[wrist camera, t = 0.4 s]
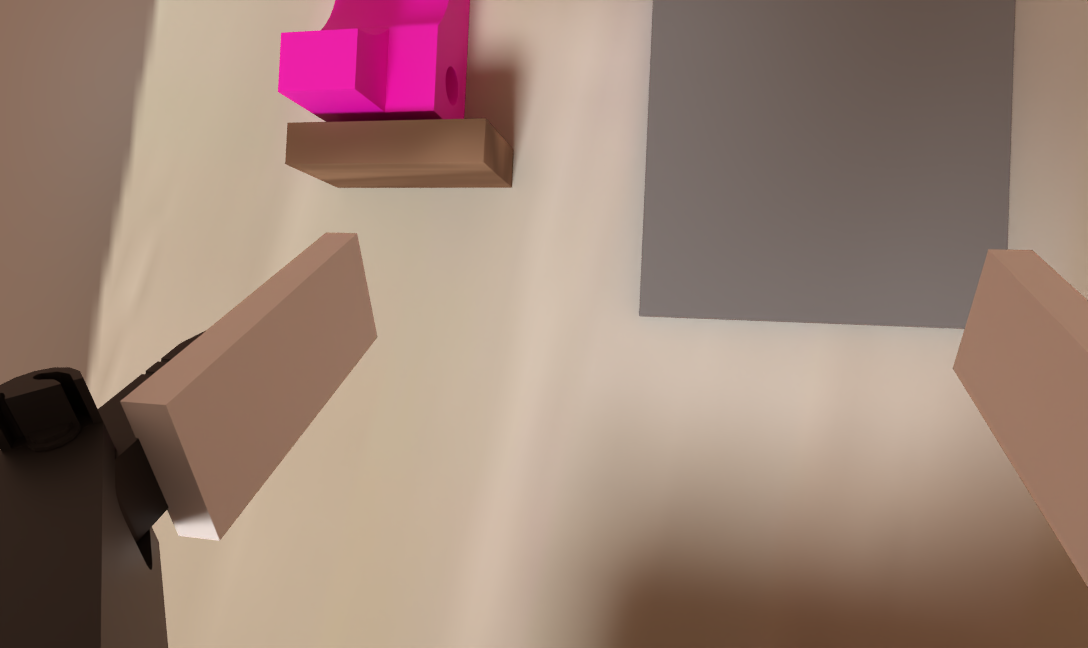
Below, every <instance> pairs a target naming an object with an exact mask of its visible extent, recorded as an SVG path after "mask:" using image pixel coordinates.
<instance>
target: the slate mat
mask: <svg viewBox="0 0 1088 648" xmlns="http://www.w3.org/2000/svg"><path fill="white" fill-rule="evenodd" d="M1014 30H1015V0H653V14H652V36H651V59H650V82H649V104H648V127H647V150H646V172H645V195H644V218H643V240H642V263H641V286H640V308H639V316H648V317H674V318H700V319H725V320H751V321H777V322H803V323H828V324H854V325H880V326H905V327H931V328H957V329H965V326H966V323H967V319H968V316H969V313H970V309H971V306H972V303H973V299H974V296H975V293H976V289H977V286H978V282H979V279H980V276H981V272H982V269H983V266H984V262H985V259H986V256H987V252H988V249H999V250H1007V249H1008V217H1009V186H1010V155H1011V124H1012V93H1013V61H1014Z"/></svg>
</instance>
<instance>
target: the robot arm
mask: <svg viewBox="0 0 1088 648" xmlns="http://www.w3.org/2000/svg"><path fill="white" fill-rule="evenodd" d="M376 338H377V333H376V328H375V322H374V317H373V312H372V307H371V302H370V297H369V292H368V287H367V282H366V277H365V272H364V266H363V261H362V256H361V251H360V246H359V241H358V236H357V233H325V234H324V235H323V236H321V237H320V238H319V239H318V240H317V241H315V242H314V243H313V244H312V245H310V246H309V247H308V248H307V249H306V250H304V251H303V252H302V253H301V254H299V255H298V256H297V257H296V258H295V259H293V260H292V261H291V262H290V263H288V264H287V265H286V266H285V267H284V268H282V269H281V270H280V271H279V272H277V273H276V274H275V275H274V276H273V277H271V278H270V279H269V280H268V281H266V282H265V283H264V284H263V285H262V286H260V287H259V288H258V289H257V290H255V291H254V292H253V293H252V294H251V295H249V296H248V297H247V298H246V299H244V300H243V301H242V302H241V303H240V304H238V305H237V306H236V307H235V308H233V309H232V310H231V311H230V312H229V313H227V314H226V315H225V316H224V317H222V318H221V319H220V320H219V321H218V322H216V323H215V324H214V325H213V326H211V327H210V328H209V329H208V330H206V331H204V332H202V333H200V334H198V335H196V336H194V337H192V338H190V339H188V340H186V341H184V342H182V343H180V344H179V345H178V346H176V347H175V348H174V349H173V350H171V351H170V352H169V353H168V354H166V355H165V356H164V357H163V358H161V362H156V363H155V364H154V365H153V366H151V367H150V368H149V369H148V370H146V374H141V375H140V376H139V377H138V378H136V379H135V380H134V381H133V382H131V383H130V384H129V385H128V386H126V387H125V388H124V389H123V390H121V391H120V392H119V393H118V394H116V395H115V396H114V397H113V398H111V399H110V400H109V401H108V402H106V403H105V404H104V405H103V406H101V407H100V408H99V409H97V407H96V405H95V403H94V400H93V398H92V396H91V394H90V392H89V390H88V387H87V385H86V383H85V381H84V379H83V377H82V375H81V373H80V371H78V370H75V369H72V368H49V369H44V370H38V371H34V372H31V373H28V374H25V375H22V376H19V377H16V378H14V379H12V380H10V381H8V382H6V383H4V384H2V385H0V449H1V450H0V648H168V641H167V629H166V618H165V607H164V595H163V584H162V573H161V561H160V550H159V542H158V539H157V537H156V535H155V533H154V531H153V528H152V525H153V524H154V523H155V522H156V521H157V520H158V519H159V518H160V517H161V516H162V514H163V513H164V512H165V511H166V510H168V512H169V515H170V517H171V519H172V522H173V524H174V526H175V528H176V531H177V533H178V535H179V536H185V537H194V538H202V539H211V540H219V541H220V540H221V538H222V537H223V536H224V534H225V533H226V532H227V531H228V529H229V528H230V527H231V525H232V524H233V523H234V522H235V520H236V519H237V518H238V516H239V515H240V514H241V512H242V511H243V510H244V509H245V507H246V506H247V505H248V503H249V502H250V501H251V500H252V498H253V497H254V496H255V494H256V493H257V492H258V491H259V489H260V488H261V487H262V485H263V484H264V483H265V481H266V480H267V479H268V478H269V476H270V475H271V474H272V472H273V471H274V470H275V469H276V467H277V466H278V465H279V463H280V462H281V461H282V460H283V458H284V457H285V456H286V454H287V453H288V452H289V451H290V449H291V448H292V447H293V445H294V444H295V443H296V441H297V440H298V439H299V438H300V436H301V435H302V434H303V432H304V431H305V430H306V429H307V427H308V426H309V425H310V423H311V422H312V421H313V420H314V418H315V417H316V416H317V414H318V413H319V412H320V410H321V409H322V408H323V407H324V405H325V404H326V403H327V401H328V400H329V399H330V398H331V396H332V395H333V394H334V392H335V391H336V390H337V389H338V387H339V386H340V385H341V383H342V382H343V381H344V380H345V378H346V377H347V376H348V374H349V373H350V372H351V370H352V369H353V368H354V367H355V365H356V364H357V363H358V361H359V360H360V359H361V358H362V356H363V355H364V354H365V352H366V351H367V350H368V349H369V347H370V346H371V345H372V343H373V342H374V341H375V339H376ZM953 369H954V371H955V373H956V374H957V376H958V378H959V379H960V381H961V382H962V384H963V386H964V387H965V389H966V391H967V392H968V394H969V395H970V397H971V399H972V400H973V402H974V404H975V405H976V407H977V408H978V410H979V412H980V413H981V415H982V417H983V418H984V420H985V421H986V423H987V425H988V426H989V428H990V430H991V431H992V433H993V434H994V436H995V438H996V439H997V441H998V442H999V444H1000V446H1001V447H1002V449H1003V451H1004V452H1005V454H1006V455H1007V457H1008V459H1009V460H1010V462H1011V464H1012V465H1013V467H1014V468H1015V470H1016V472H1017V473H1018V475H1019V477H1020V478H1021V480H1022V481H1023V483H1024V485H1025V486H1026V488H1027V490H1028V491H1029V493H1030V494H1031V496H1032V498H1033V499H1034V501H1035V503H1036V504H1037V506H1038V507H1039V509H1040V511H1041V512H1042V514H1043V516H1044V517H1045V519H1046V520H1047V522H1048V524H1049V525H1050V527H1051V529H1052V530H1053V532H1054V533H1055V535H1056V537H1057V538H1058V540H1059V541H1060V543H1061V545H1062V546H1063V548H1064V550H1065V551H1066V553H1067V554H1068V556H1069V558H1070V559H1071V561H1072V563H1073V564H1074V566H1075V567H1076V569H1077V571H1078V572H1079V574H1080V576H1081V577H1082V579H1083V580H1084V582H1085V584H1086V585H1087V587H1088V300H1087V299H1085V298H1084V297H1083V296H1082V295H1081V294H1080V293H1079V292H1078V291H1077V290H1076V289H1074V288H1073V287H1072V286H1071V285H1070V284H1069V283H1068V282H1067V281H1066V280H1065V279H1063V278H1062V277H1061V276H1060V275H1059V274H1058V273H1057V272H1056V271H1055V270H1054V269H1052V268H1051V267H1050V266H1049V265H1048V264H1047V263H1046V262H1045V261H1044V260H1042V259H1041V258H1040V257H1039V256H1038V255H1037V254H1036V253H1035V252H1034V251H1033V250H999V249H988V252H987V256H986V259H985V262H984V266H983V269H982V272H981V276H980V279H979V282H978V286H977V289H976V293H975V296H974V299H973V303H972V306H971V309H970V313H969V316H968V319H967V323H966V326H965V330H964V333H963V336H962V340H961V343H960V346H959V350H958V353H957V356H956V360H955V363H954V367H953Z"/></svg>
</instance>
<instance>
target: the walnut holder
mask: <svg viewBox="0 0 1088 648" xmlns="http://www.w3.org/2000/svg"><path fill="white" fill-rule="evenodd" d="M285 164H287V165H289V166H291V167H293V168H296V169H298V170H300V171H302V172H304V173H307V174H309V175H311V176H313V177H315V178H318V179H320V180H322V181H324V182H327V183H329V184H331V185H333V186H335V187H338V188H456V187H512V168H513V149H512V148H511V146H510V145H509V144H508V143H507V142H506V141H505V140H504V138H503V137H502V136H501V135H500V134H499V133H498V132H497V131H496V129H495V128H494V127H493V126H492V125H491V124H490V123H489V122H488V120H487V119H486V118H476V119H433V120H390V121H347V122H303V123H288V126H287V144H286V162H285Z"/></svg>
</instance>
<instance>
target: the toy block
mask: <svg viewBox="0 0 1088 648" xmlns="http://www.w3.org/2000/svg"><path fill="white" fill-rule="evenodd" d="M469 6H470V0H335V4H334V8H333V10H332V13H331V16H330V18H329V20H328V21H327V23H326V25H325V26H324V27H323V29H322V30H321V31H305V32H287V33H281V47H280V66H279V84H278V92H279V93H281V94H282V95H284V96H286V97H287V98H289V99H291V100H292V101H294V102H295V103H297V104H299V105H300V106H302V107H303V108H305V109H307V110H308V111H310V112H311V113H313V114H315V115H316V116H318V117H319V118H321V119H323V120H324V121H326V122H347V121H390V120H433V119H464V113H465V91H466V70H467V49H468V28H469Z"/></svg>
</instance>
